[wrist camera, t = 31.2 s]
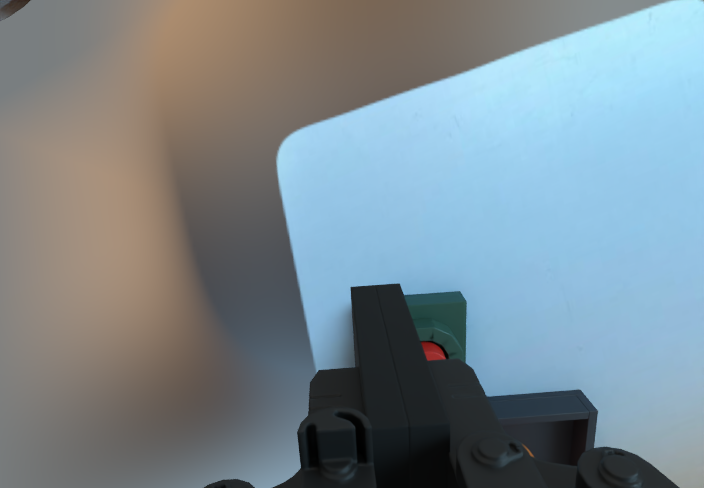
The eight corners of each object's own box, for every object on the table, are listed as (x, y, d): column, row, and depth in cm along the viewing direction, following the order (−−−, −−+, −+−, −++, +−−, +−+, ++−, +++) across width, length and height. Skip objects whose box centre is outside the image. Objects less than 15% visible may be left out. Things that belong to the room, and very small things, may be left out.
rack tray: (430, 520, 52) (437, 548, 49) (429, 401, 48) (436, 423, 45) (568, 508, 53) (583, 535, 50) (580, 389, 48) (598, 410, 45)
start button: (402, 380, 43) (405, 392, 41) (401, 342, 42) (404, 353, 40) (444, 377, 43) (449, 389, 41) (444, 339, 42) (449, 350, 40)
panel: (374, 385, 47) (378, 412, 43) (370, 297, 44) (374, 317, 40) (459, 379, 47) (470, 405, 43) (460, 291, 44) (472, 310, 40)
